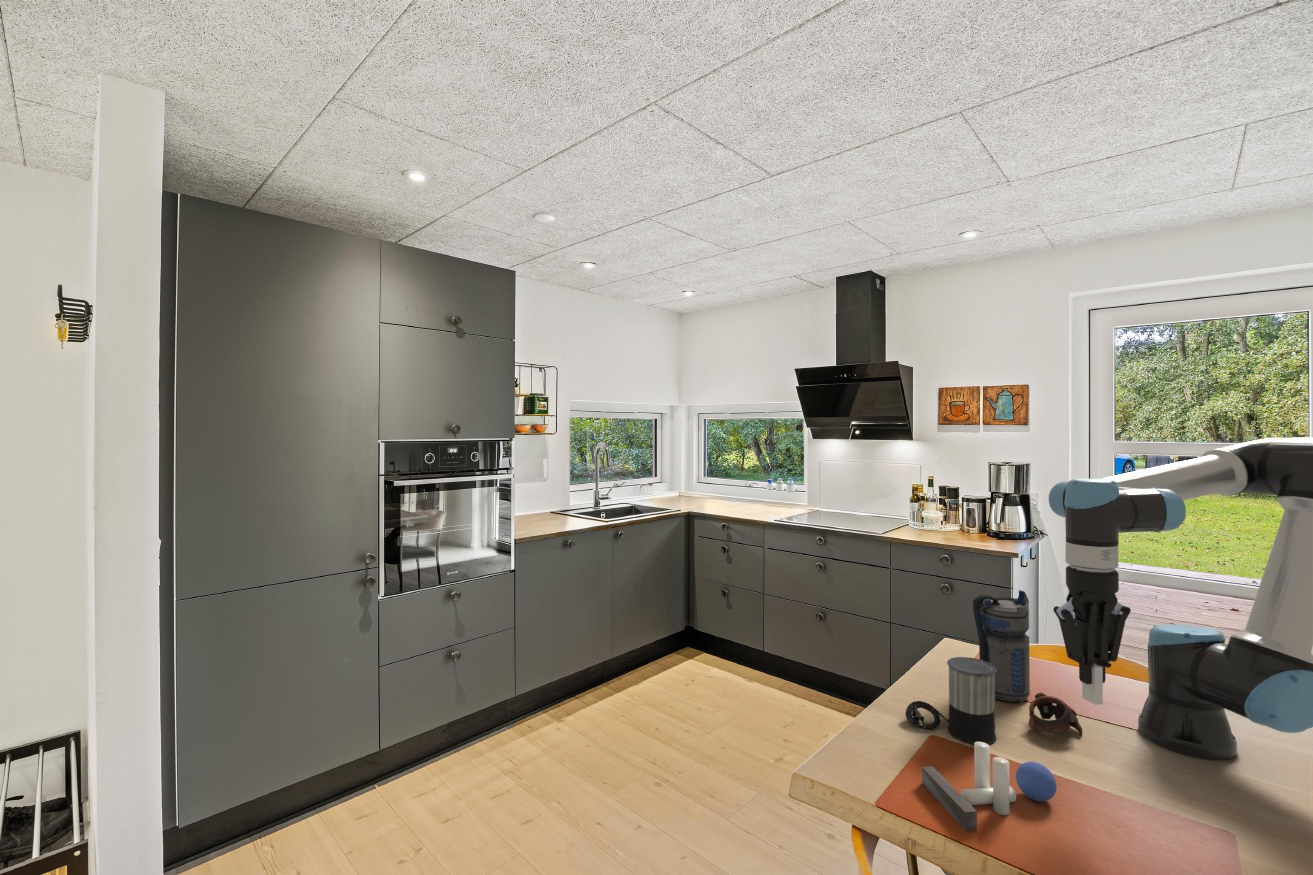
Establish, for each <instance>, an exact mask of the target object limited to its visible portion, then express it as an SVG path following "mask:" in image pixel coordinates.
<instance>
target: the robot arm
mask: <svg viewBox="0 0 1313 875" xmlns="http://www.w3.org/2000/svg"><path fill="white" fill-rule="evenodd" d="M1213 494H1217V495H1220V496H1233V495H1238V494H1257V495H1268V496H1269V495H1271V496H1276V499H1275V500H1276V501H1277V503H1278V504H1279V506H1281V508H1282V509H1283V510H1284V511H1283V514H1282V518H1281V521H1280V523H1279V526H1278V530H1277V531H1276V532H1277V533H1276V535H1275V539H1274V541H1273V544H1272V547H1271V551H1270V553H1269V556H1268V559H1267V562H1266V565H1265V569H1264V572H1263V575H1262V576H1261V577H1262V578H1261V580H1260V583H1259V586H1258V590H1257V592H1256V595H1255V598H1254V602H1253V604H1252V608H1251V610H1250V614H1249V615H1248V619H1247V622H1246V625H1245V627H1244V628H1245V629H1244V630H1242V631H1240V632H1235V633H1232V634H1230V637H1229V641H1228V643H1227V644H1226V640H1227V639H1226V638H1225V635H1224V633H1223V632H1221V631H1220V630H1217V629H1214V628H1209V627H1204V626H1197V625H1190V624H1189V625H1185V624H1160V625H1155V626H1153V627H1152V628H1151V629H1150V630H1149V633H1148V643H1147V644H1146V645H1147V664H1148V665H1147V666H1148V667H1147V668H1148V673H1147V674H1148V696H1147V697H1146V700H1145V702H1144V705H1143V707H1142V710H1141V713H1139V714H1138V715H1139V716H1138V720H1137V723H1138V727H1137V729H1138V731H1139V732H1140V734H1141V735H1142V736H1143V737H1144V738H1146V739H1147V740H1148V741H1150V742H1152V743H1154V744H1155V745H1158V746H1160V747H1163V748H1166V749H1168V750H1170V751H1173V752H1176V753H1180V754H1182V755H1187V756H1190V757H1196V758H1199V759H1200V758H1201V759H1206V760H1207V759H1208V760H1209V759H1210V760H1228V759H1232V758H1234V757H1236V755H1238V754H1237V753H1238V740H1237V739H1236V736H1235V735H1234V734H1233V733H1232V728H1231V725H1230V722H1229V719H1228V716H1227V714H1226V710H1227V711H1229V712H1232V713H1234V714H1235V715H1239V716H1240V717H1243V718H1245V719H1248V720H1250V721H1251V722H1252V723H1255V724H1258V725H1260V726H1262V727H1263V726H1264V727H1267V728H1271V729H1272V730H1275V731H1278V732H1281V733H1287V734H1296V733H1297V734H1298V733H1302V732H1305V731H1307V730H1308V729H1312V728H1313V653H1312V649H1313V437H1285V436H1280V437H1268V438H1267V437H1266V438H1260V439H1254V440H1251V441H1245V442H1240V443H1237V444H1236V443H1235V444H1231V445H1227V446H1223V447H1218V448H1214V449H1210V450H1207V451H1205V452H1204V453H1202V454H1201V456H1199V457H1197V458H1192V459H1188V460H1187V459H1186V460H1182V461H1177V462H1173V463H1168V464H1163V465H1159V466H1153V467H1149V468H1144V469H1139V470H1135V471H1130V472H1126V473H1121V474H1117V475H1116V474H1115V475H1112V476H1108V477H1107V476H1106V477H1103V478H1073V479H1070V480H1069V481H1068V480H1067V481H1060V482H1057V483H1056V484H1054V485H1053V486H1052V488H1051V489H1050V491H1049V493H1048V504H1049V507H1050V509H1051V511H1052V512H1053V513H1054V514H1056V515H1057V516H1058V517H1062V518H1065V519H1064V521H1065V560H1064V561H1065V563H1066V564H1067V566H1066V567H1065V585H1066V588H1067V589H1068V594H1067V596H1066V599H1065V600H1066V602H1064V604H1063V605H1062V606H1057V605H1056V606H1054V607H1053V609H1052V610H1053V612H1054V614H1055V616H1056V617H1057V619H1058V621H1059V622H1058V623H1059V626H1060V630H1061V634H1062V639H1063V643H1064V647H1065V651H1066V655H1067V656H1066V657H1067V658H1068V659H1069V660H1072V661H1074V662H1076V663H1078V675H1079V676H1078V679H1079V681H1080V682H1082V683H1081V685H1082V687H1081V688H1082V689H1081V691H1082V693H1081V694H1082V696H1081V697H1082V699H1084V700H1086V701H1087V702H1089V703H1091V704H1093V705H1095V706H1097V705H1103V704H1104V700H1103V698H1104V695H1103V693H1104V690H1103V686H1104V684H1105V682H1106V668H1107V669H1109V668H1111V667H1112V665H1113V664H1112V663H1111V662H1113V663H1114V662H1117V660H1118V657H1119V652H1120V648H1121V644H1122V640H1123V634H1124V630H1125V625H1126V620H1127V619H1128V618H1129V615H1130V614H1131V608H1130V607H1128V606H1125V605H1123V604H1122V603H1120V602H1118V597H1117V595H1116V594H1117V593H1118V592H1119V590H1120V588H1119V587H1120V586H1119V585H1120V582H1119V581H1120V580H1119V578H1120V576H1119V575H1120V574H1119V572H1118V571H1117V570H1116V569H1118V567H1119V545H1120V543H1119V542H1120V541H1119V537H1120V536H1119V534H1122V533H1145V532H1146V533H1148V532H1155V533H1160V532H1166V531H1172V530H1175V529H1178V528H1179V527H1180V526H1182V524H1183V523H1184V522H1185V520H1186V517H1187V509H1186V508H1187V507H1186V504H1185V502H1184V501H1186V500H1191V499H1195V498H1201V497H1205V496H1208V495H1209V496H1210V495H1213Z"/></svg>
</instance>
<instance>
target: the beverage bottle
mask: <svg viewBox="0 0 1313 875" xmlns="http://www.w3.org/2000/svg"><path fill="white" fill-rule="evenodd" d="M1029 602H1030V601H1029V598H1028V596H1027V594H1026V591H1024V590H1018V597H1017V598H1015V597H1009V596H1004V595H1003V596H1001V595H1000V596H999V595H998V596H997V595H995V596H993V595H990V594H979V595H977V596H976V597H975V598H974V599H973V600H972V610H973V615H974V622H975V625H976V633H977V638H978V646H979V660H982V661H985V662H988V663H990V664H991V665H993V666H994V667H995V668H996V672H995V700H1000V701H1004V702H1010V703H1017V702H1018V703H1019V702H1020V703H1021V702H1024V701H1026V700H1028V698H1029V697H1030V693H1031V689H1030V688H1031V687H1030V686H1031V685H1030V683H1031V682H1030V681H1031V680H1030V677H1031V675H1030V674H1031V673H1030V664H1031V662H1030V637H1029V635H1028V634H1026V633H1027V631H1029V629H1030V608H1029V606H1030V605H1029V604H1030V603H1029Z"/></svg>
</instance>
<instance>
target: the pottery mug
mask: <svg viewBox="0 0 1313 875" xmlns="http://www.w3.org/2000/svg"><path fill="white" fill-rule="evenodd" d="M1036 708H1037V710H1038V712H1039V715H1040V716H1041V718H1040V717H1039V716H1037V715H1036V714H1034V713H1035V709H1036ZM1028 711H1029V720H1028V725H1029V727H1030V729H1031V731H1032V732H1033V733H1035V732H1036V731H1038V732H1043V733H1045V734H1053V733H1056V734H1058V733H1061V732H1070V733H1072V732H1073V731H1072V728H1073V729H1075V730H1076V731H1077V732H1078V734H1079V736H1083V727H1082V725H1081V724H1080V722H1079V718H1078V717H1077V712H1076V711H1075V709H1073V708H1072V707H1071V706H1070V705H1068V704H1067V703H1066V702H1065V701H1064V700H1063V699H1061V698H1059V697H1056V696H1051V695H1047V694H1045V693H1043V692H1038V693H1036V694H1035V695H1034V700H1032V701H1031V702H1030V705H1029V707H1028ZM1053 716H1054V718H1055V719H1052V720H1050V719H1051V718H1052V717H1053ZM1071 727H1072V728H1071Z"/></svg>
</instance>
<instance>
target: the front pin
mask: <svg viewBox="0 0 1313 875" xmlns="http://www.w3.org/2000/svg"><path fill="white" fill-rule="evenodd" d="M960 795H961V796H962V797H963V798H964V799H965V800H966V801H967V802H968V803H969V804H970V805H971V806H980V805H981V806H983V805H993V786H990V787H989V788H975V787H974V788H963V789H961V790H960ZM1016 801H1017V794H1016V792H1015V790H1014V788H1013V787H1012V786H1011V785H1009V803H1015V802H1016Z"/></svg>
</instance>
